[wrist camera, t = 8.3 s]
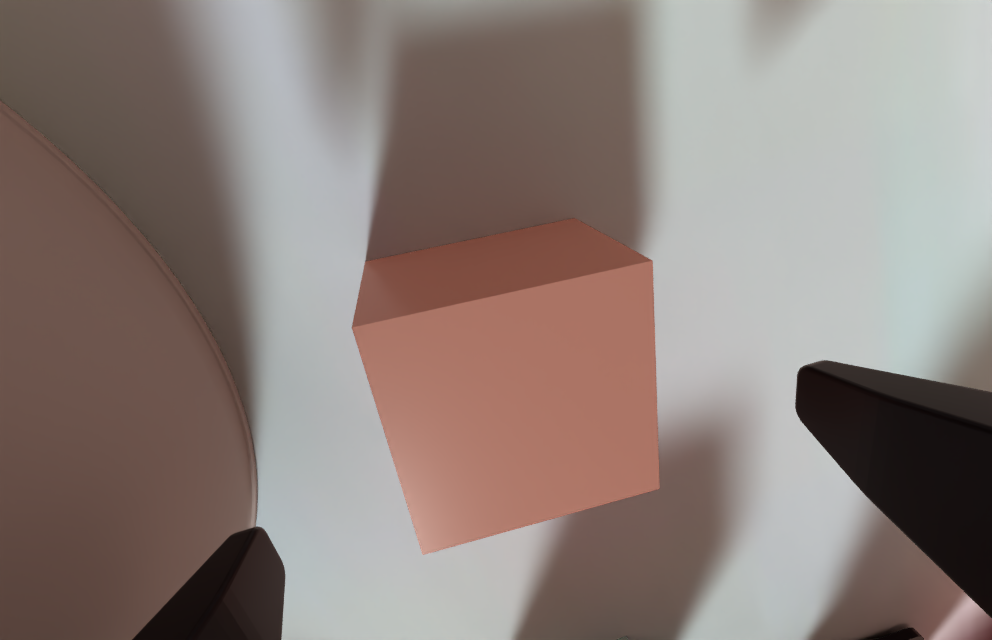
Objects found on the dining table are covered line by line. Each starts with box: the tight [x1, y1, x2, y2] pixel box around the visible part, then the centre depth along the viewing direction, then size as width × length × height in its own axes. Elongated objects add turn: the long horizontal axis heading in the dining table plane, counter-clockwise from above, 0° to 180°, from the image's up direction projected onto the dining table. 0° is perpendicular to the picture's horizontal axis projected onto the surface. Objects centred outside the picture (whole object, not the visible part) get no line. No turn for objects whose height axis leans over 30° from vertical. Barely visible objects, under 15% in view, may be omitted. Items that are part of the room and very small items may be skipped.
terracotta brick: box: [352, 218, 660, 555], centre depth 11 cm, size 5×5×4 cm
